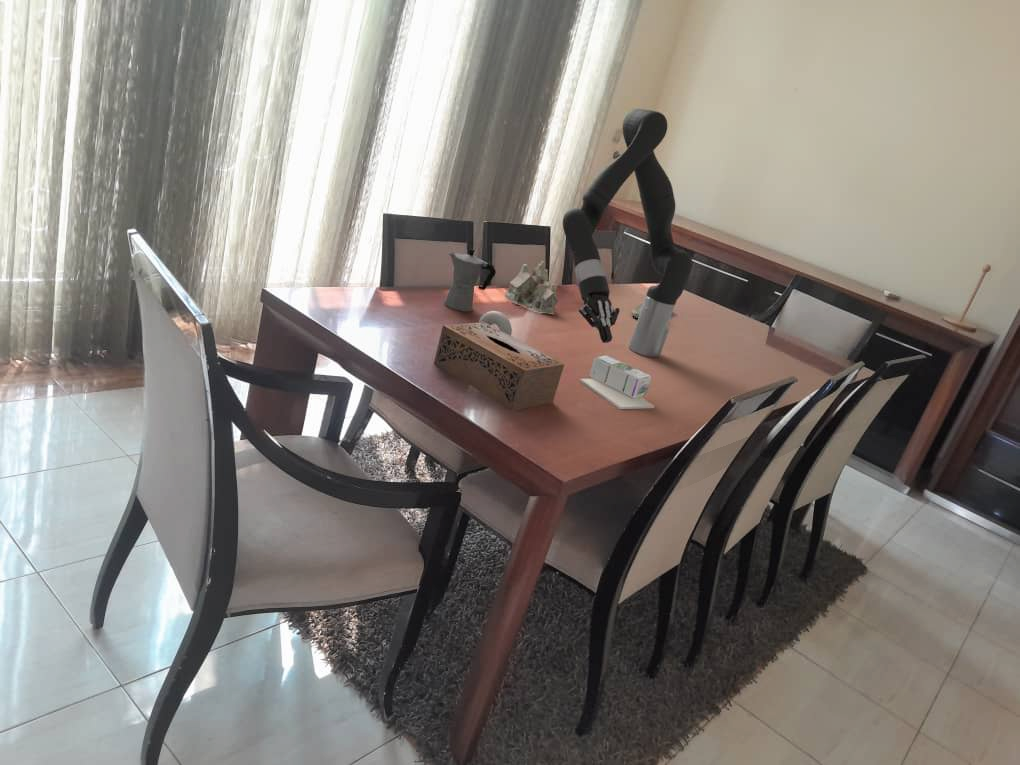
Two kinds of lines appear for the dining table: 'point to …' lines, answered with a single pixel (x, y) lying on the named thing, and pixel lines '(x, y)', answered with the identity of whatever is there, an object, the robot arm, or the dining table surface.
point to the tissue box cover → (498, 365)
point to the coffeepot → (466, 280)
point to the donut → (497, 321)
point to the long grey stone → (636, 311)
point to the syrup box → (620, 376)
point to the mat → (616, 396)
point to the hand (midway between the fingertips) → (607, 341)
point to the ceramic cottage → (533, 290)
